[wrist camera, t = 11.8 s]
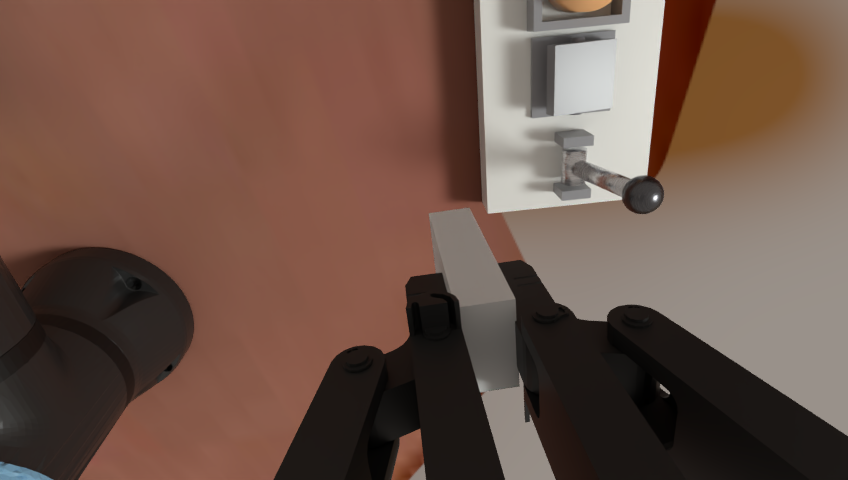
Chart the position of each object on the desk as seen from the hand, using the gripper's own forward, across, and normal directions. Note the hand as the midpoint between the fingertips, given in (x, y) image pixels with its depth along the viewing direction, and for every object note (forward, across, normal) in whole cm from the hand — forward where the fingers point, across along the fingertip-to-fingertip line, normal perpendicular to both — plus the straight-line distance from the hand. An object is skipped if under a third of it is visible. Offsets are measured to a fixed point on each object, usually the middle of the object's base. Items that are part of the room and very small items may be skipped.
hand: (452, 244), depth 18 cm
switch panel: (+26, +13, +2) cm, 29 cm away
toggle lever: (+22, +13, -5) cm, 25 cm away
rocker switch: (+22, +13, +2) cm, 25 cm away
